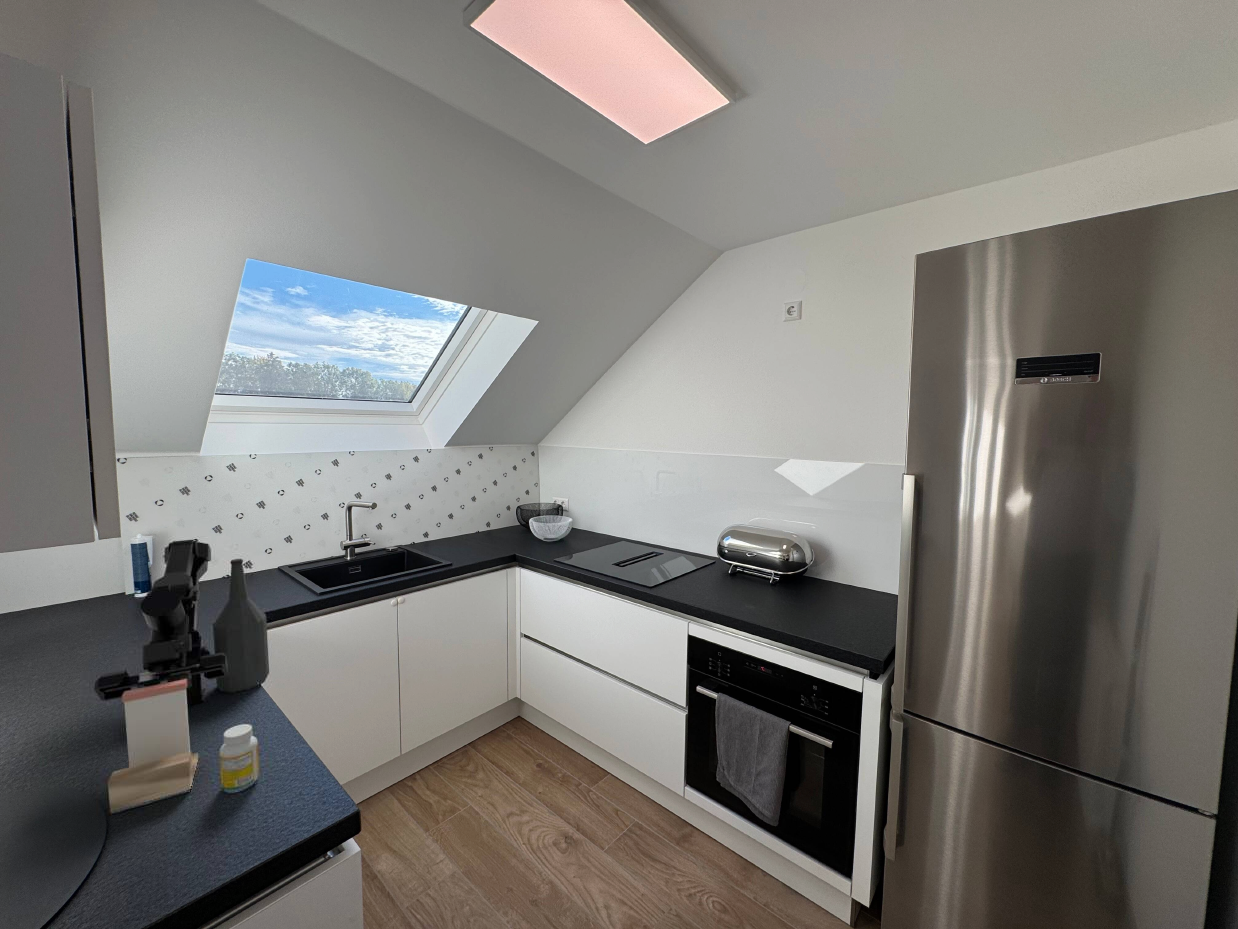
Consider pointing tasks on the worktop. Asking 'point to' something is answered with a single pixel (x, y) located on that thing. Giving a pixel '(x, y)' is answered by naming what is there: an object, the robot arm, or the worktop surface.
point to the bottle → (241, 637)
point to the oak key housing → (151, 780)
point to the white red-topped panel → (156, 722)
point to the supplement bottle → (239, 758)
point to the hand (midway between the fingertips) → (162, 721)
